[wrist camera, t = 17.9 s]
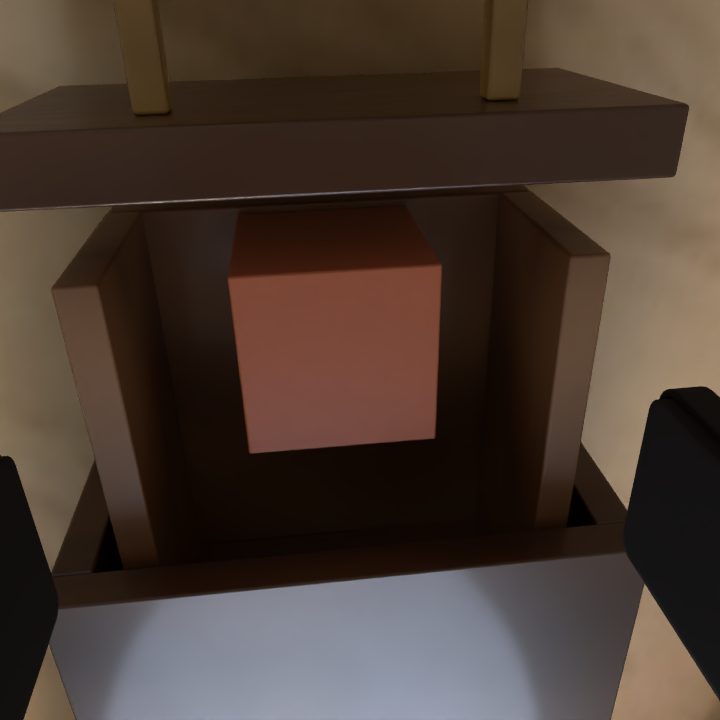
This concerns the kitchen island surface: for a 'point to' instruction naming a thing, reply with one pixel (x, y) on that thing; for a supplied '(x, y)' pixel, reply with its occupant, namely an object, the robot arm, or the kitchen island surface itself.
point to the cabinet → (354, 625)
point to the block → (335, 327)
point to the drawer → (327, 192)
